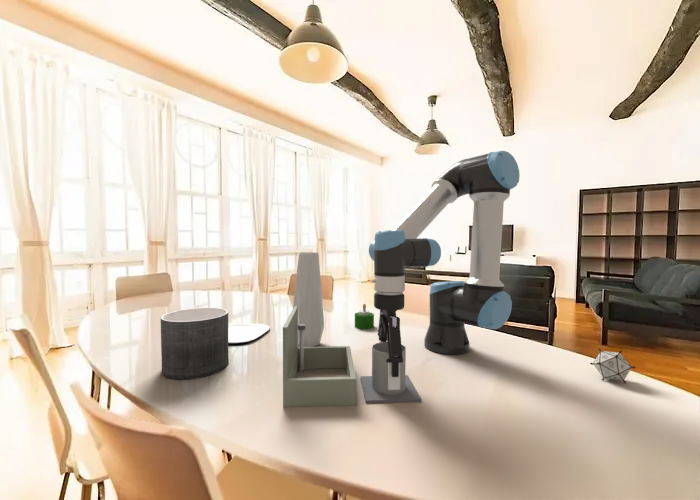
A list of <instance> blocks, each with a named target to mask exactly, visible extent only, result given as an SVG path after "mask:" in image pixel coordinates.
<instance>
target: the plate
mask: <svg viewBox="0 0 700 500" xmlns="http://www.w3.org/2000/svg"><path fill="white" fill-rule="evenodd" d="M270 329H271V328H270V325H267V324H263V323H245V322H244V323H243V322H241V323H240V322H239V323H238V322H228V345H229V344H245V343H249V342H252V341H254V340H257V339H258V338H260V337H261V336H264V334H266V333H268V332H269V330H270Z"/></svg>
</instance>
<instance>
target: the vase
mask: <svg viewBox="0 0 700 500" xmlns="http://www.w3.org/2000/svg"><path fill="white" fill-rule="evenodd" d="M319 256H320V255H319V252H312V251H310V252H304V251H303V252H302V251H301V252H299V254H298V260H297V269H296V278H295V287H294V292H293V293H294V295H293V301H292V302H293V303H292V309H293V308H294V306H298V324H306V328H305V330H304V347H317V346H318V345H320V344H321V340H322V337H323V333H324V329H325V319H324V318H325V317H324V307H323V306H324V305H323V295H322V294H323V293H322V280H321V270H320V268H321V267H320V257H319ZM298 347H300V330H298Z"/></svg>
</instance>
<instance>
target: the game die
mask: <svg viewBox="0 0 700 500" xmlns="http://www.w3.org/2000/svg"><path fill="white" fill-rule="evenodd" d="M597 350H598V351H599V352H598V354H597V356H596V358H595V360H594V362H590V363H589V364H590V365H593V366H594V367H595V368H596V370H597V372H599V374H600V375H601V377H602V378H601V381H602V380H603V381H605V379H608V380H616V381H622V382H623V383H624V384H627V381H626V380H625V379H626V378H627V376H628V374H629V373H630V371H631V370H632V369H636V366H634V365H631V364H630V363H629V361H628V360H627V359H626V358H625V356H623V354H622V352H623V350H622V349H621V350H619V351H618V352H617V351H605V350H602V349H601V348H600V347H598V348H597Z"/></svg>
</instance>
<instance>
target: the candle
mask: <svg viewBox="0 0 700 500" xmlns="http://www.w3.org/2000/svg"><path fill="white" fill-rule="evenodd" d="M366 308H367V305H366V304H365V303H364V304H363V305H362V309H361V310H359V312H355V313H354V328H355V329H358V330H371V329H374V328H375V313H373V312H370V310H367V309H366Z"/></svg>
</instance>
